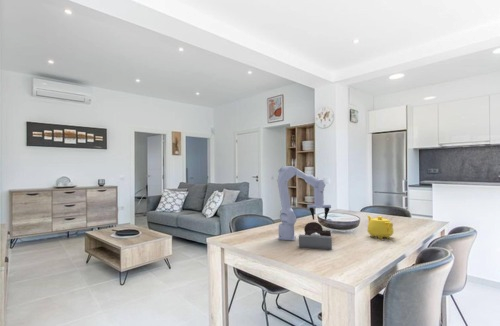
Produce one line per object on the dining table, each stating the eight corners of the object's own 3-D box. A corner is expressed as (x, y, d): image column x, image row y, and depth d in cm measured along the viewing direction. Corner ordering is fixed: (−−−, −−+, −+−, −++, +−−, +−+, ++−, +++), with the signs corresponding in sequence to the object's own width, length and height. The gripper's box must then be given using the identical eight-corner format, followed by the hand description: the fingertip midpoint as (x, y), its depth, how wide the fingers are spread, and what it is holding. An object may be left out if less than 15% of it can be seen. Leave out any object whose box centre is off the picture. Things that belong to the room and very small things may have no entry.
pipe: (331, 231, 153) (328, 221, 168) (303, 231, 156) (303, 222, 171) (332, 247, 154) (329, 236, 169) (305, 248, 157) (305, 237, 172)
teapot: (375, 232, 180) (375, 213, 180) (401, 239, 161) (401, 218, 161) (359, 234, 175) (358, 214, 176) (383, 241, 157) (383, 220, 157)
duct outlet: (298, 247, 148) (298, 234, 148) (300, 244, 153) (299, 232, 153) (331, 249, 143) (331, 235, 143) (331, 246, 148) (331, 233, 148)
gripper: (308, 199, 174) (308, 220, 174) (331, 198, 173) (332, 220, 173) (307, 197, 181) (307, 218, 181) (329, 197, 180) (329, 218, 180)
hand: (319, 219), depth 177 cm, fingers open, 7 cm apart
